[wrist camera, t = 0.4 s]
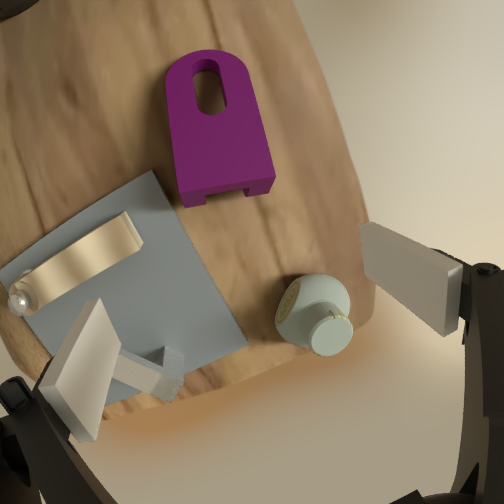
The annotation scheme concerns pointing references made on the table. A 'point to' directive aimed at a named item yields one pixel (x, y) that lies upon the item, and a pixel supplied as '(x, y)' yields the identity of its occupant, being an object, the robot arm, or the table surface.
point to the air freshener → (315, 314)
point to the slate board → (138, 286)
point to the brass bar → (79, 261)
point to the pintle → (19, 300)
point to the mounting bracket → (216, 131)
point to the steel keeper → (152, 373)
